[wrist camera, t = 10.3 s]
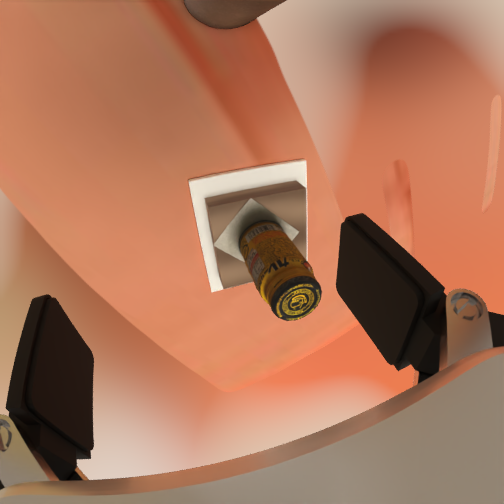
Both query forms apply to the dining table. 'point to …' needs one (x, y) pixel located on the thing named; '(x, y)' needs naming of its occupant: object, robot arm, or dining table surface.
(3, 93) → the dining table surface
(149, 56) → the dining table surface
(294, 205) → the plinth
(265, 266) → the condiment
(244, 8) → the pillar candle
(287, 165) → the base board
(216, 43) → the dining table surface
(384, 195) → the dining table surface
